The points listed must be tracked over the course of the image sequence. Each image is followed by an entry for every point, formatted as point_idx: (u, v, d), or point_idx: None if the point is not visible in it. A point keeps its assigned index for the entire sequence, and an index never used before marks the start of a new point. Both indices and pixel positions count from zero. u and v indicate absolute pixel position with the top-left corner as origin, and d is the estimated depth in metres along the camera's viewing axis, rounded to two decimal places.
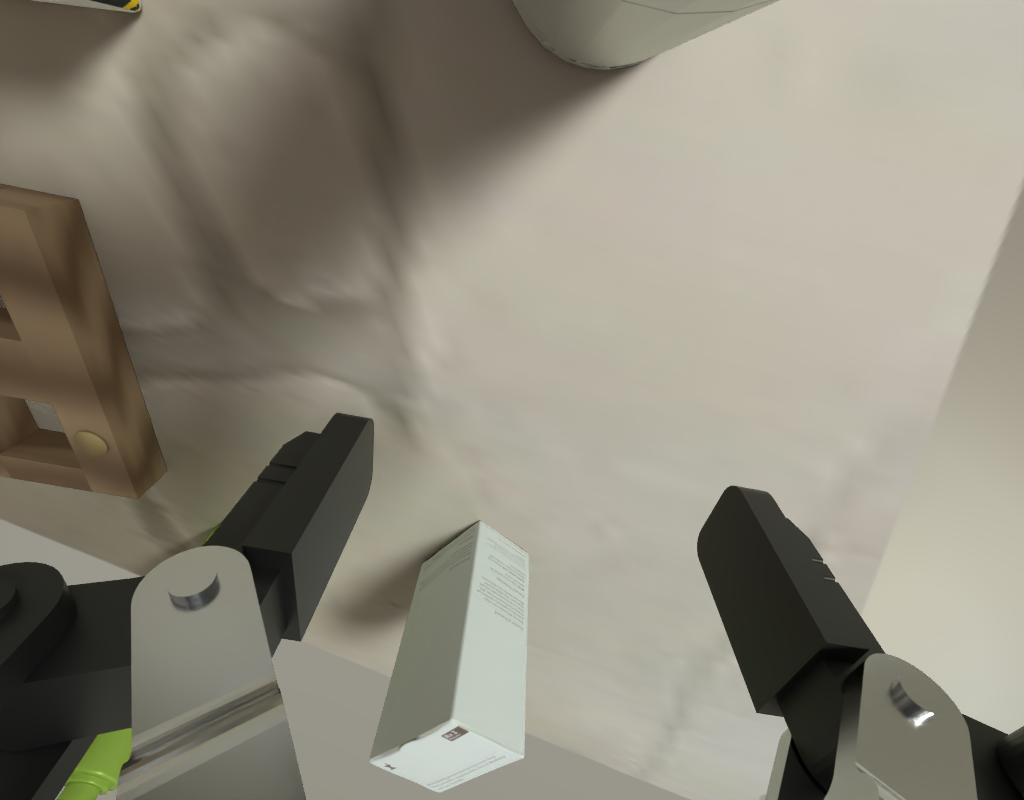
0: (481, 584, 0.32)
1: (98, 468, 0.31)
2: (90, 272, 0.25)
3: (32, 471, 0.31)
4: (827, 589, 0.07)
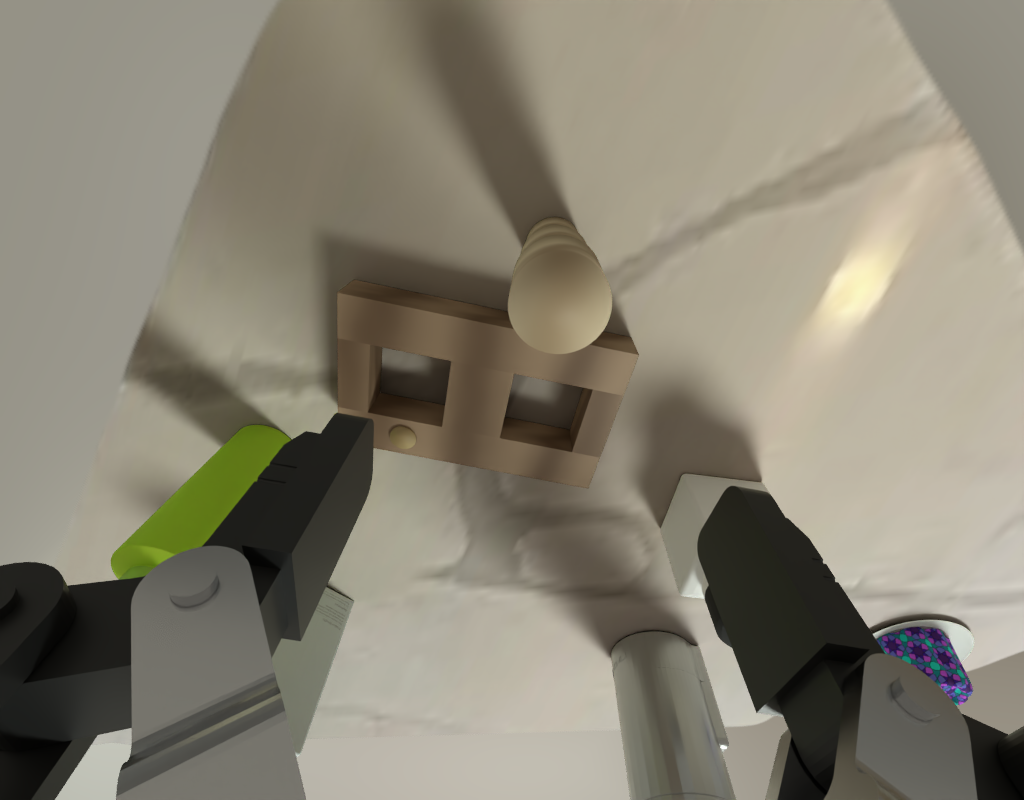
0: None
1: None
2: None
3: (353, 365, 0.31)
4: (827, 589, 0.07)
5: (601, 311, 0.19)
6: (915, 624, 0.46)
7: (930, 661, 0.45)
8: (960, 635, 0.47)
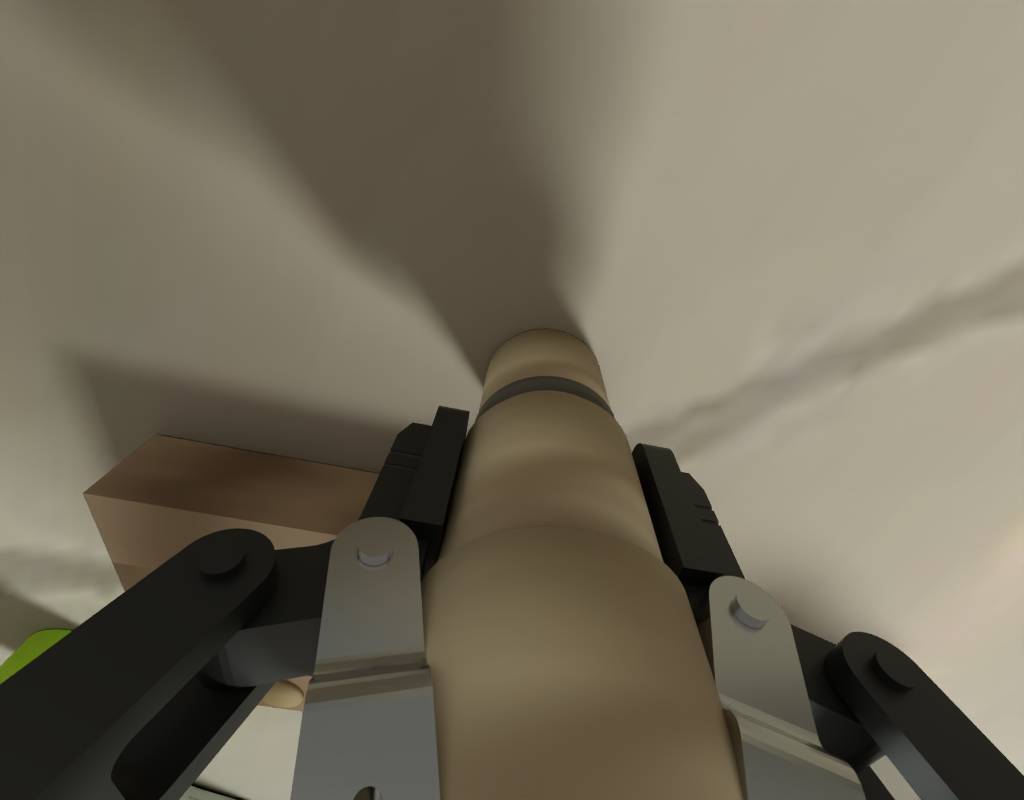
0: None
1: None
2: None
3: None
4: (700, 526, 0.08)
5: None
6: None
7: None
8: None
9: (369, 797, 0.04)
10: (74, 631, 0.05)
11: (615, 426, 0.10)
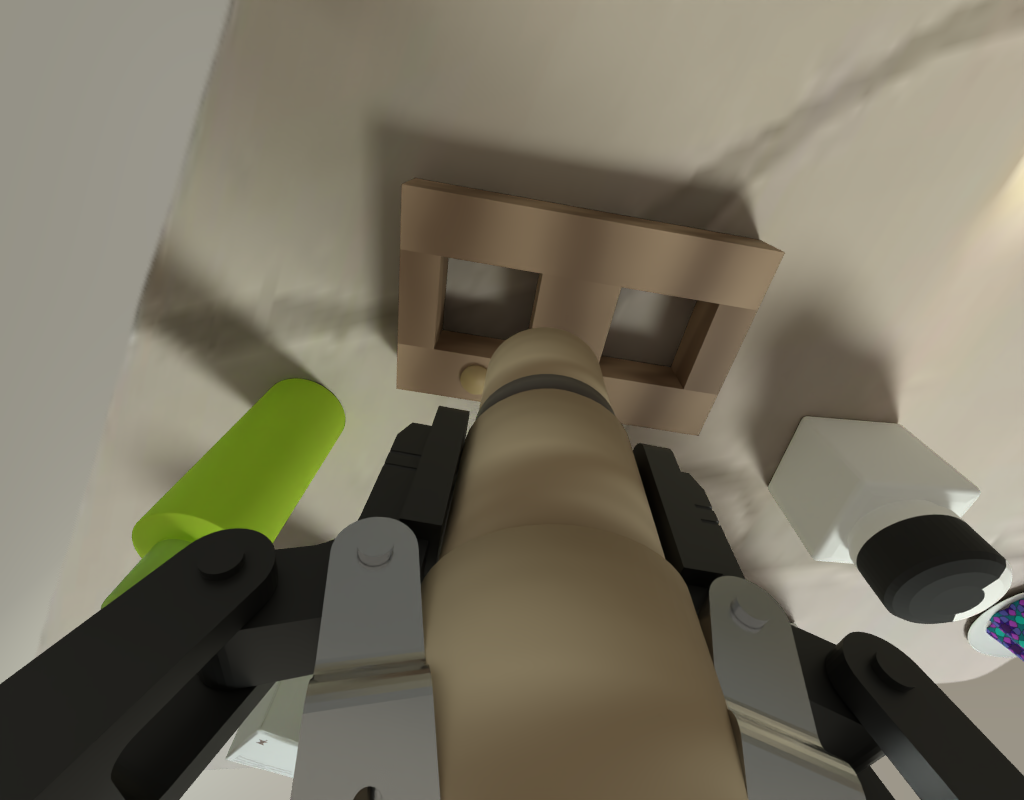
0: None
1: (437, 367, 0.28)
2: None
3: (418, 286, 0.25)
4: (700, 526, 0.08)
5: None
6: None
7: None
8: None
9: (369, 796, 0.04)
10: (74, 631, 0.05)
11: (616, 424, 0.10)
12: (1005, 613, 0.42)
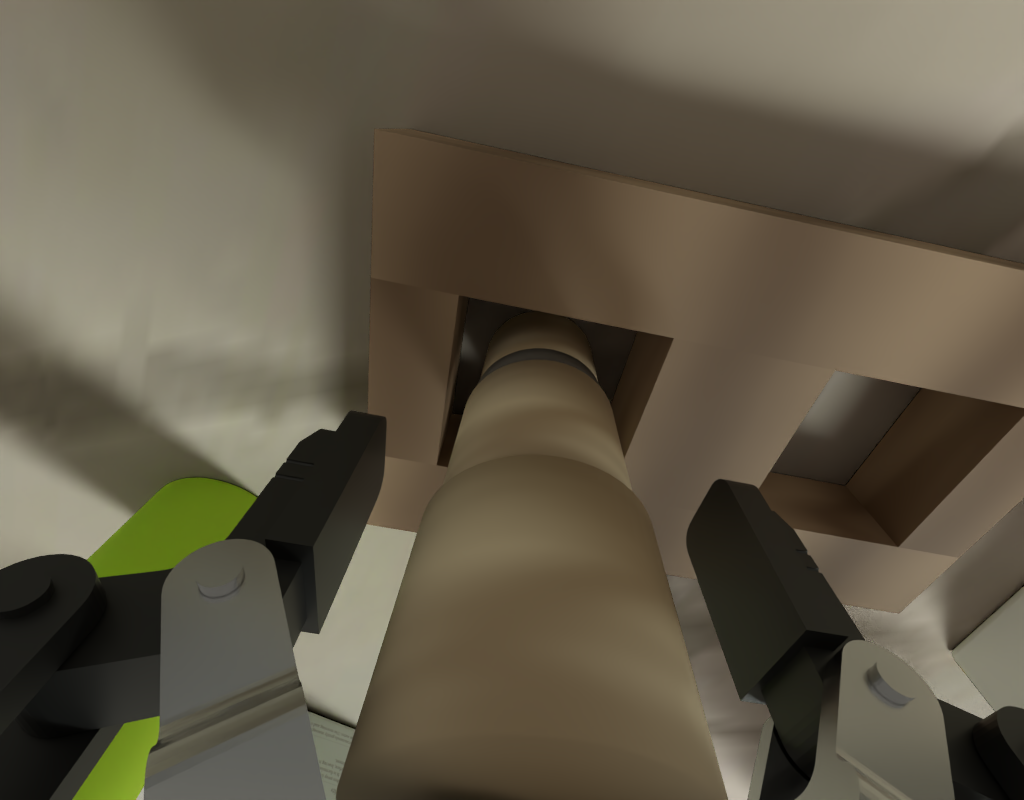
0: None
1: None
2: None
3: (409, 352, 0.12)
4: (809, 578, 0.08)
5: None
6: None
7: None
8: None
9: None
10: None
11: (598, 390, 0.11)
12: None
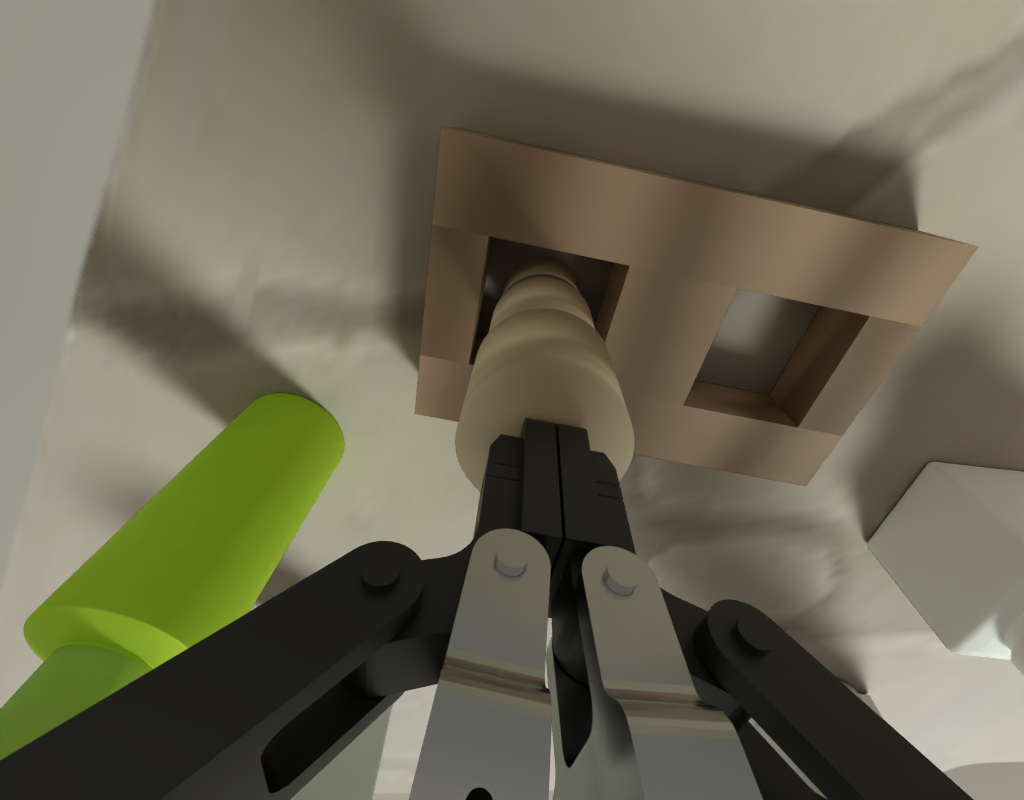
0: None
1: None
2: None
3: (454, 277, 0.18)
4: (595, 500, 0.08)
5: (615, 456, 0.11)
6: None
7: None
8: None
9: (480, 798, 0.04)
10: (260, 607, 0.05)
11: (581, 296, 0.17)
12: None
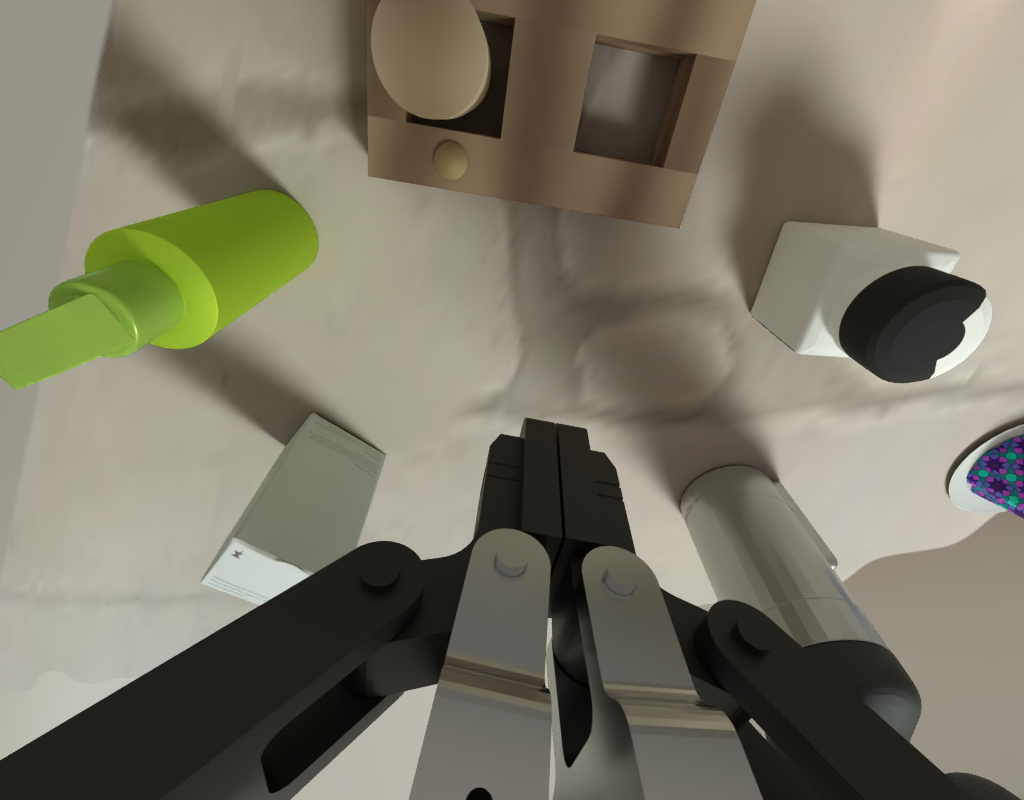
0: None
1: (410, 146, 0.27)
2: None
3: None
4: (595, 501, 0.08)
5: (475, 54, 0.17)
6: None
7: None
8: None
9: (479, 798, 0.04)
10: (260, 607, 0.05)
11: None
12: (996, 451, 0.42)
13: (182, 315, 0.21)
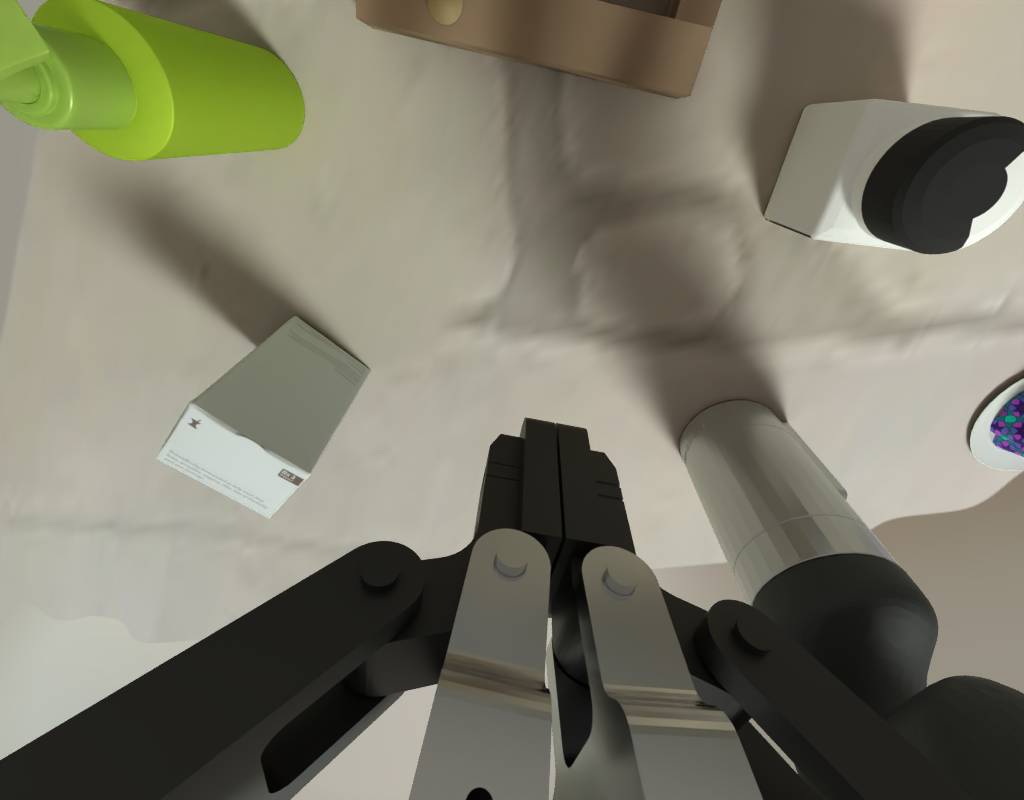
0: None
1: None
2: (622, 84, 0.28)
3: None
4: (595, 501, 0.08)
5: None
6: None
7: None
8: None
9: (480, 798, 0.04)
10: (260, 607, 0.05)
11: None
12: None
13: (133, 109, 0.19)
